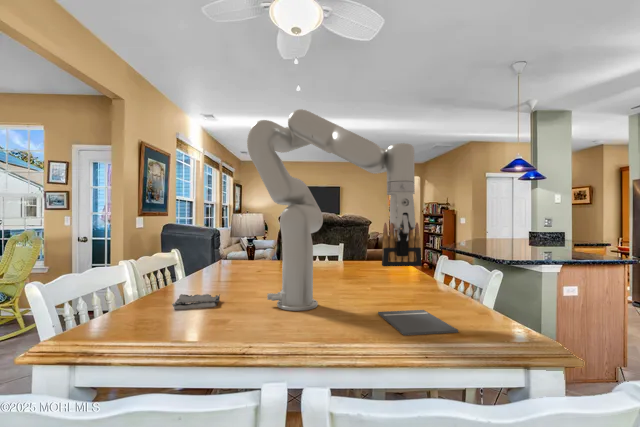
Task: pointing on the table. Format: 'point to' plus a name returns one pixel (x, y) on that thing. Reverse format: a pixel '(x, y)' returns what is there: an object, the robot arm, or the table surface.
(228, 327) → the table surface
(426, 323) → the mat
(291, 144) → the robot arm
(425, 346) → the table surface
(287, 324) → the table surface
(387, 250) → the ammunition clip
